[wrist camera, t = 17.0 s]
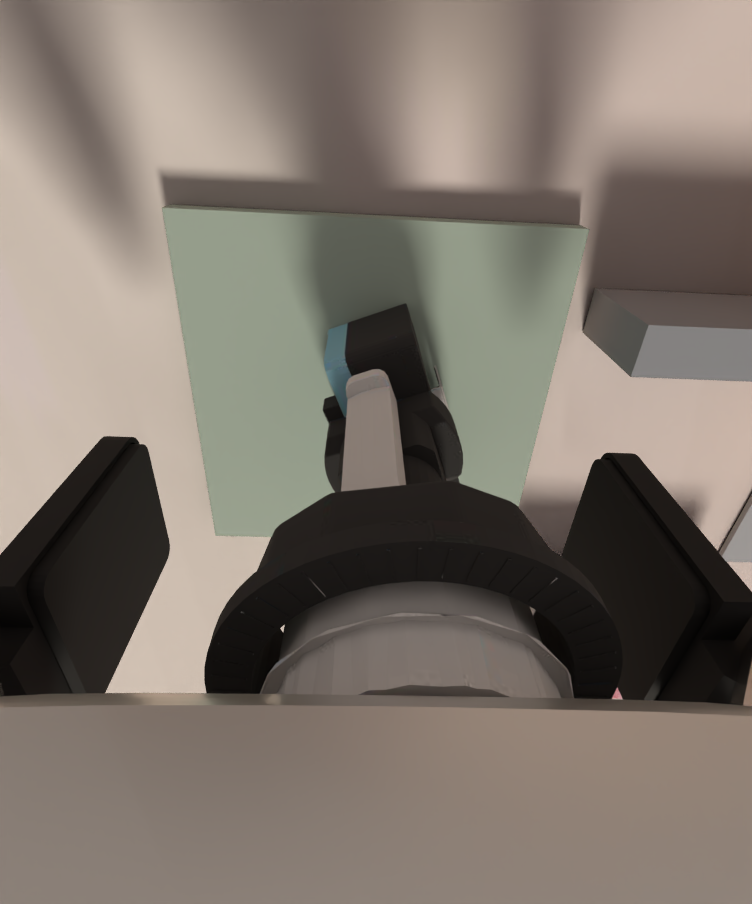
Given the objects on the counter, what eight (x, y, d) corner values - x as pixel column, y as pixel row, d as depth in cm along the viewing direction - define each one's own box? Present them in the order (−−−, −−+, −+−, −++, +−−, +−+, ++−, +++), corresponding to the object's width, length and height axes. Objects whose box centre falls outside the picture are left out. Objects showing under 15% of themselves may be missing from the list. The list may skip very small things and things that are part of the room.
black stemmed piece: (507, 476, 16) (670, 872, 7) (348, 519, 17) (329, 920, 8) (458, 267, 12) (654, 559, 4) (260, 336, 13) (72, 695, 5)
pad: (220, 523, 17) (215, 535, 17) (170, 204, 12) (162, 208, 12) (505, 531, 18) (509, 543, 17) (580, 225, 12) (589, 229, 12)
